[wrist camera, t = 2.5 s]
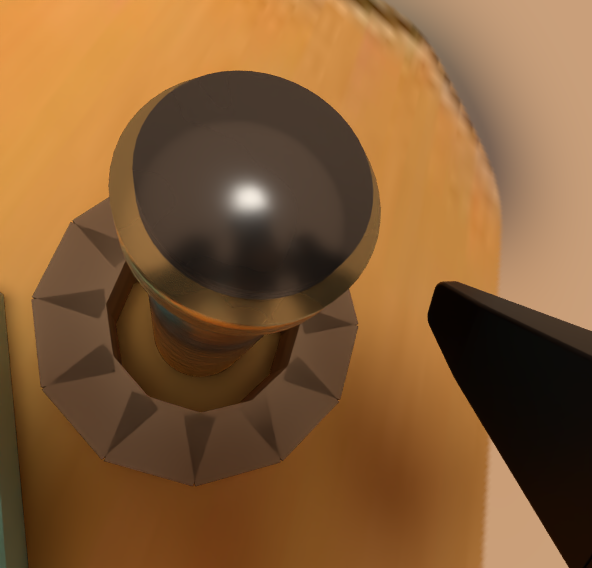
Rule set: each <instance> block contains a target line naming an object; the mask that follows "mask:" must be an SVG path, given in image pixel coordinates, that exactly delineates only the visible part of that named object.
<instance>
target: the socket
mask: <svg viewBox="0 0 592 568" xmlns="http://www.w3.org/2000/svg"><path fill="white" fill-rule="evenodd" d="M137 281H138V280H137V279H136V278H135V276H134V274H133V273H132V271H131V269H130V267H129V265H128V264H127V262H126V259H125V257H124V254H123V252H122V249H121V247H120V243H119V239H118V235H117V231H116V227H115V223H114V219H113V215H112V210H111V206H110V199H109V197H108V198H107V199H105V200H104V201H102V202H101V203H99V204H97V205H96V206H94V207H93V208H91V209H89V210H88V211H86V212H85V213H83V214H82V215H80V216H78V217H77V218H75V219H74V220H73V223H72V222H70V224H69V226H68V228H67V230H66V232H65V234H64V236H63V238H62V240H61V242H60V244H59V246H58V248H57V250H56V251H55V253H54V255H53V257H52V259H51V261H50V263H49V265H48V267H47V269H46V271H45V273H44V275H43V277H42V279H41V281H40V282H39V284H38V286H37V288H36V290H35V292H34V294H33V296H32V297H33V298H34V299H32V308H33V318H34V327H35V337H36V346H37V356H38V365H39V375H40V384H41V387H42V388H43V389H42V390H43V392H44V393H45V394H46V395H47V396H48V397H49V399H50V400H51V401H52V402H53V403H54V404H55V406H56V407H57V408H58V409H59V410H60V411H61V413H62V414H63V415H64V416H65V417H66V418H67V420H68V421H69V422H70V423H71V424H72V425H73V427H74V428H75V429H76V430H77V431H78V432H79V434H80V435H81V436H82V437H83V438H84V440H85V441H86V442H87V443H88V444H89V445H90V447H91V448H92V449H93V450H94V451H95V452H96V454H97V455H98V456H99V457H100V458H101V459H103V458H105V459H104V461H106V462H109V463H113V464H116V465H120V466H123V467H127V468H130V469H134V470H137V471H141V472H144V473H148V474H151V475H155V476H158V477H162V478H165V479H169V480H172V481H176V482H179V483H183V484H186V485H190V486H193V484H195V486H199V485H202V484H206V483H209V482H213V481H216V480H220V479H223V478H227V477H230V476H234V475H237V474H241V473H244V472H248V471H252V470H255V469H259V468H262V467H266V466H269V465H273V464H276V463H280V462H281V461H280V460H282V461H283V460H284V459H285V458H286V457H287V456H288V455H289V454H290V453H291V452H292V451H293V450H294V449H295V448H296V447H297V445H298V444H299V443H300V442H301V441H302V440H303V439H304V438H305V437H306V436H307V435H308V434H309V433H310V432H311V431H312V430H313V429H314V428H315V427H316V425H317V424H318V423H319V422H320V421H321V420H322V419H323V418H324V417H325V416H326V415H327V414H328V413H329V412H330V411H331V410H332V409H333V408H334V407H335V405H336V404H337V403H338V402H339V401H338V400H340V399H341V395H342V391H343V386H344V382H345V378H346V374H347V370H348V366H349V362H350V358H351V354H352V350H353V346H354V342H355V338H356V334H357V329H358V326H356V325H357V324H358V321H357V317H356V313H355V310H354V306H353V302H352V298H351V295H350V291H349V289H348V290H347V291H346V292H345V293H343V294H342V295H341V296H340V297H338V298H337V299H336V300H335V301H333V302H332V303H331V304H329V305H328V306H327V307H325V308H324V309H323V310H321V311H320V312H319V313H317V314H316V315H315V316H313V317H311V318H310V319H308V320H306V321H305V322H303V323H301V324H299V325H297V326H294V327H292V328H289V329H287V330H284V331H280V333H281V338H280V341H279V345H278V348H277V351H276V354H275V358H274V361H273V364H272V368H271V371H270V374H269V376H268V377H267V378H265V379H264V380H263V381H262V382H261V383H260V384H259V385H258V386H257V387H256V388H255V389H254V390H253V391H252V392H251V393H249V394H248V395H247V396H246V397H245V398H244V399H243V400H242V401H241V402H240V403H239V404H235V405H231V406H226V407H222V408H218V409H214V410H209V411H205V412H201V413H200V412H197V411H193V410H190V409H187V408H184V407H181V406H177V405H174V404H171V403H168V402H165V401H161V400H158V399H155V398H152V397H149V396H148V395H147V394H146V393H145V392H144V391H143V390H142V389H141V387H140V386H139V385H138V384H137V383H136V382H135V380H134V379H133V378H132V377H131V376H130V375H129V374H128V372H127V371H126V370H125V369H124V368H123V367H122V363H121V356H120V349H119V342H118V335H117V329H116V322H117V320H118V318H119V315H120V313H121V311H122V308H123V306H124V304H125V302H126V299H127V297H128V295H129V292H130V290H131V288H132V286H133V284H134V283H135V282H137Z"/></svg>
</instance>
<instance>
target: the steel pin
mask: <svg viewBox="0 0 592 568" xmlns="http://www.w3.org/2000/svg"><path fill="white" fill-rule="evenodd" d="M109 199H110V206H111V210H112V215H113V219H114V223H115V227H116V231H117V235H118V239H119V243H120V247H121V249H122V252H123V254H124V257H125V259H126V262H127V264H128V265H129V267H130V269H131V271H132V273H133V274H134V276H135V278H136V279H137V280H138V281H139V283H140V284H141V285H142V287H143V288H144V289H145V291H146V292H147V293H148V294H149V301H150V309H151V316H152V323H153V331H154V338H155V343H156V346H157V349H158V351H159V353H160V355H161V356H162V357H163V359H164V360H165V361H166V362H167V363H168V364H169V365H170V366H171V367H173V368H174V369H175V370H177V371H179V372H181V373H184V374H186V375H190V376H198V377H200V376H211V375H214V374H217V373H220V372H222V371H224V370H225V369H227V368H228V367H230V366H231V365H232V364H233V363H234V362H235V361H237V360H238V359H239V358H240V357H241V356H242V355H243V354H244V353H245V352H246V351H247V350H249V349H250V348H251V347H252V346H253V345H254V344H255V343H256V342H257V341H258V340H259V339H261V338H262V337H263V336H264V335H266V334H272V333H276V332H280V331H284V330H287V329H289V328H292V327H294V326H297V325H299V324H301V323H303V322H305V321H306V320H308V319H310V318H311V317H313V316H315V315H316V314H317V313H319V312H320V311H321V310H323V309H324V308H325V307H327V306H328V305H329V304H331V303H332V302H333V301H335V300H336V299H337V298H338V297H340V296H341V295H342V294H343V293H345V292H346V291H347V290H348V289H349V288H350V287H351V286H352V285H353V283H354V282H355V281H356V280H357V279H358V278H359V276H360V275H361V273H362V272H363V270H364V269H365V267H366V266H367V264H368V262H369V260H370V258H371V256H372V253H373V251H374V248H375V245H376V241H377V238H378V233H379V227H380V212H381V207H380V197H379V190H378V186H377V182H376V178H375V175H374V172H373V169H372V167H371V164H370V162H369V160H368V158H367V156H366V154H365V152H364V150H363V148H362V146H361V144H360V142H359V140H358V138H357V136H356V135H355V133H354V132H353V130H352V129H351V127H350V126H349V125H348V124H347V122H346V121H345V120H344V119H343V118H342V116H341V115H340V114H339V113H338V112H337V111H336V110H335V109H333V108H332V107H331V106H330V105H329V104H328V103H327V102H325V101H324V100H323V99H321V98H320V97H319V96H317V95H316V94H314V93H313V92H311V91H309V90H308V89H306V88H304V87H302V86H300V85H298V84H296V83H294V82H291V81H289V80H286V79H283V78H281V77H277V76H273V75H270V74H266V73H259V72H253V71H224V72H218V73H212V74H207V75H204V76H201V77H198V78H195V79H192V80H189V81H186V82H182V83H180V84H178V85H175V86H173V87H171V88H169V89H167V90H165V91H163V92H162V93H160V94H159V95H157V96H156V97H154V98H153V99H151V100H150V101H149V102H148V103H147V104H146V105H144V106H143V107H142V108H141V109H140V110H139V111H138V112H137V113H136V115H135V116H134V117H133V118H132V119H131V120H130V122H129V123H128V125H127V126H126V128H125V129H124V131H123V133H122V134H121V136H120V138H119V141H118V143H117V145H116V148H115V150H114V153H113V157H112V162H111V166H110V173H109Z"/></svg>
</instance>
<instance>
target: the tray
mask: <svg viewBox="0 0 592 568" xmlns="http://www.w3.org/2000/svg"><path fill="white" fill-rule="evenodd" d="M0 568H28V557H27V546H26V535H25V525H24V514H23V503H22V492H21V481H20V470H19V459H18V448H17V437H16V426H15V415H14V404H13V393H12V383H11V372H10V361H9V350H8V339H7V328H6V317H5V306H4V295H3V294H2V293H1V292H0Z"/></svg>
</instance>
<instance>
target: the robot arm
mask: <svg viewBox="0 0 592 568" xmlns="http://www.w3.org/2000/svg"><path fill="white" fill-rule="evenodd" d="M428 323H429V326H430V328H431V330H432V332H433V334H434V336H435V338H436V340H437V343H438V345H439V347H440V349H441V351H442V353H443V355H444V357H445V360H446V362H447V364H448V366H449V368H450V370H451V372H452V374H453V376H454V378H455V380H456V382H457V383H458V385H459V387H460V388H461V390H462V392H463V393H464V395H465V397H466V398H467V400H468V402H469V403H470V405H471V407H472V408H473V410H474V412H475V413H476V415H477V417H478V418H479V420H480V422H481V423H482V425H483V426H484V428H485V430H486V431H487V433H488V435H489V436H490V438H491V440H492V441H493V443H494V445H495V446H496V448H497V450H498V451H499V453H500V454H501V456H502V458H503V460H504V461H505V463H506V464H507V466H508V468H509V469H510V471H511V473H512V474H513V476H514V478H515V479H516V481H517V483H518V484H519V486H520V488H521V489H522V491H523V493H524V494H525V496H526V498H527V499H528V501H529V502H530V504H531V506H532V507H533V509H534V511H535V512H536V514H537V516H538V517H539V519H540V521H541V522H542V524H543V525H544V527H545V529H546V531H547V532H548V534H549V536H550V537H551V539H552V541H553V542H554V544H555V546H556V547H557V549H558V550H559V552H560V554H561V555H562V557H563V559H564V560H565V561H566V564H567V565H568V567H569V568H592V331H589V330H587V329H584V328H581V327H579V326H576V325H573V324H570V323H568V322H565V321H562V320H560V319H557V318H554V317H551V316H549V315H546V314H543V313H541V312H538V311H535V310H532V309H530V308H527V307H525V306H522V305H519V304H516V303H514V302H511V301H508V300H506V299H503V298H500V297H497V296H495V295H492V294H489V293H487V292H484V291H481V290H479V289H476V288H473V287H470V286H468V285H465V284H462V283H460V282H456V281H447V282H440V283H438V284H437V285H436V287H435V290H434V293H433V297H432V300H431V304H430V307H429V311H428Z"/></svg>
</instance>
